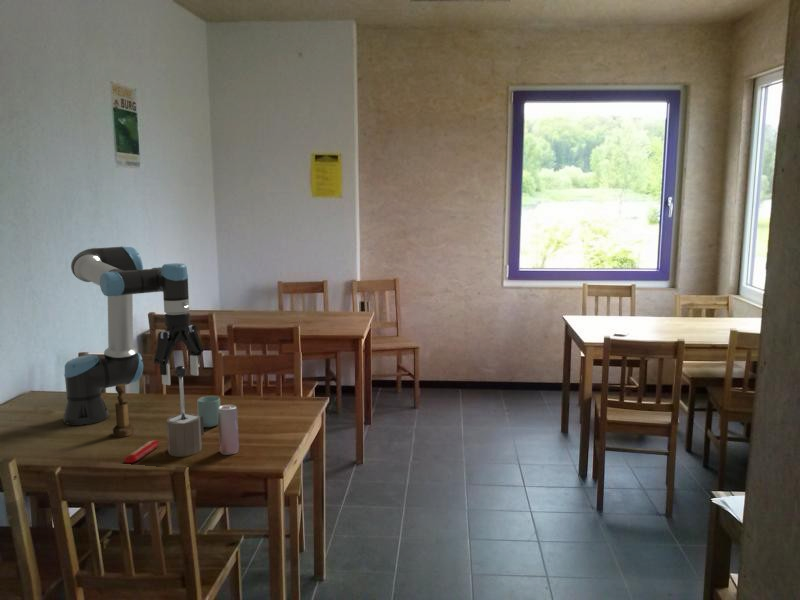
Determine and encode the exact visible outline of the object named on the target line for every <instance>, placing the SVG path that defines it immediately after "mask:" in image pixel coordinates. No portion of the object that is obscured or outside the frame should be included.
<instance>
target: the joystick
mask: <svg viewBox="0 0 800 600" xmlns="http://www.w3.org/2000/svg"><path fill="white" fill-rule="evenodd" d="M174 374H175V376H177V377H178V384H179V399H180V400H179V401H180V405H179V406H180V414H181V420H185V414H186V409H185V392H184V376H186V374H187V368H186V367H185V366H184V365H178V366H176V367H175V369H174Z"/></svg>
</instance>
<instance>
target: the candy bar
mask: <svg viewBox="0 0 800 600" xmlns="http://www.w3.org/2000/svg"><path fill="white" fill-rule="evenodd" d="M158 446H159V440H156V439H154V440H148V441H147V442H145V443H143V444H142V445H141V446H140V447H138V448H136V449H135V450H134V451H132V452H130V453H129V454H127V455H126V456H125V458H124V459H125V460H124V463H126V464H127V463H128V464H133V463H136V462H138V461H139V460H141V459H143V458H144V457H145V456H147V455H148V454H149V453H151V452H152V451H154V450H155V449H157V447H158Z"/></svg>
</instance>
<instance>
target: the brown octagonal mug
mask: <svg viewBox="0 0 800 600" xmlns="http://www.w3.org/2000/svg"><path fill="white" fill-rule="evenodd" d="M165 422H166V424H165V425H166V435H167V436H166V438H167V453H168V454H169V456H173V457H177V458H179V457H188V456H193V455H196V454H197V453H200V452H201V450H202V448H203V446H202V436H203V435H205V433H204V427H203V416H199V415H198V413H197V414H196V413H185V420H181V413H180V414H175V415H172V416H170V417H168V418H167V419H166V420H165Z"/></svg>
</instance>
